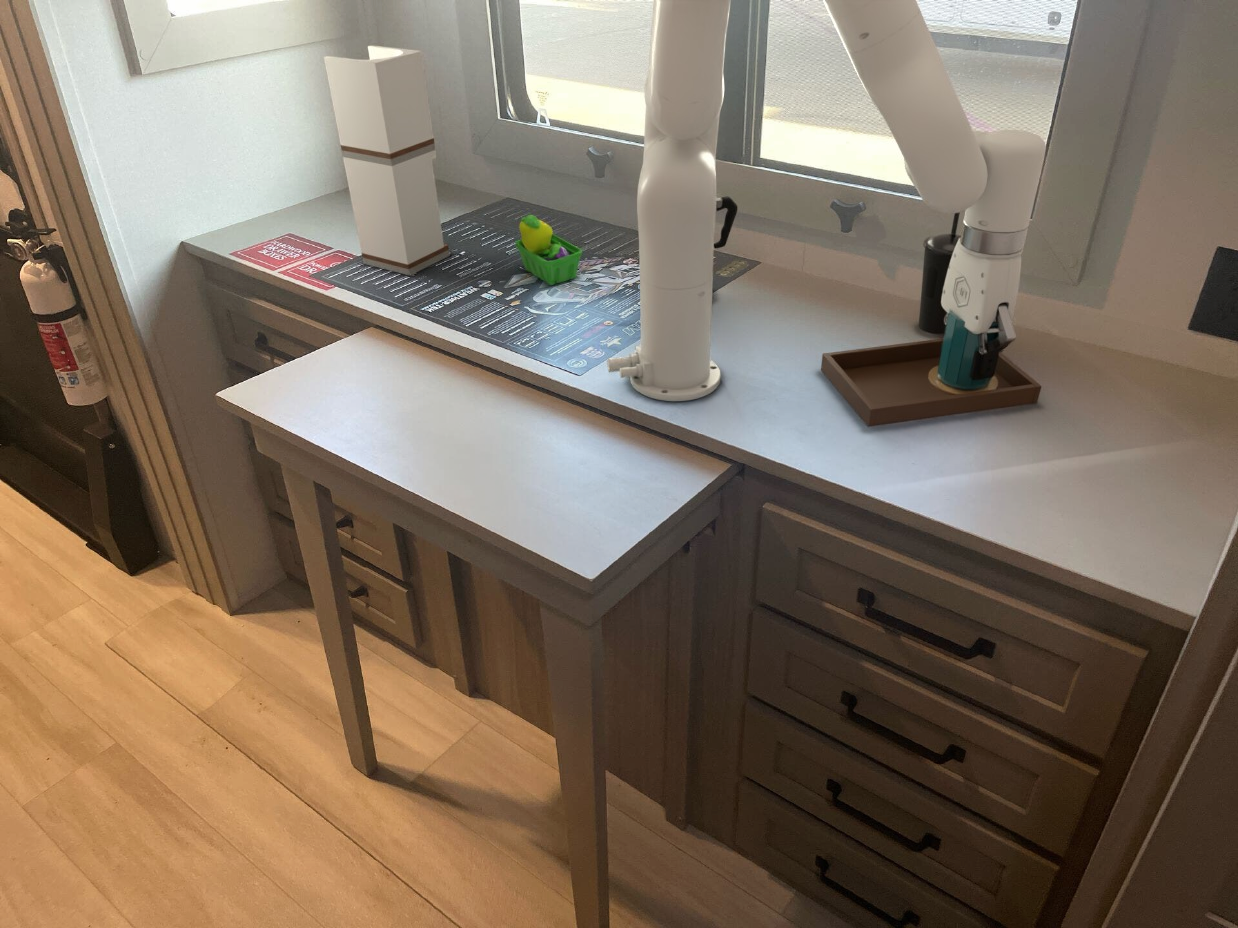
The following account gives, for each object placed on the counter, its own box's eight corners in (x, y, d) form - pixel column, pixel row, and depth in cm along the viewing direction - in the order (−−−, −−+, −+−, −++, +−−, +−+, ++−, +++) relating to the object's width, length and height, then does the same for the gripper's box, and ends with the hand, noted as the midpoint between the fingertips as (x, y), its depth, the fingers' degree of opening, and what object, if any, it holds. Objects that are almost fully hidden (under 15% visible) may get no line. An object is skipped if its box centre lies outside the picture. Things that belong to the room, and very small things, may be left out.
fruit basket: (586, 278, 158) (583, 215, 152) (542, 291, 154) (536, 226, 148) (552, 259, 166) (548, 197, 160) (509, 271, 162) (503, 208, 156)
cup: (952, 392, 121) (966, 327, 116) (927, 368, 127) (939, 305, 121) (1000, 386, 122) (1016, 321, 117) (973, 362, 128) (987, 299, 122)
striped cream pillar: (449, 255, 169) (421, 51, 149) (409, 275, 162) (374, 63, 142) (404, 244, 174) (371, 45, 154) (363, 263, 167) (323, 57, 147)
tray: (867, 430, 116) (870, 409, 114) (820, 373, 129) (822, 353, 127) (1036, 406, 120) (1042, 386, 118) (974, 353, 132) (978, 333, 131)
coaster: (948, 400, 120) (949, 398, 120) (916, 369, 128) (916, 367, 128) (1011, 392, 122) (1011, 390, 122) (975, 361, 129) (976, 359, 129)
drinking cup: (964, 343, 135) (992, 210, 124) (910, 339, 136) (933, 207, 125) (959, 320, 141) (985, 192, 130) (907, 317, 143) (929, 190, 131)
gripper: (930, 217, 120) (910, 339, 130) (1003, 266, 106) (974, 399, 116) (983, 211, 121) (959, 333, 131) (1062, 259, 107) (1028, 392, 117)
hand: (966, 363), depth 123 cm, fingers closed on cup, 7 cm apart
